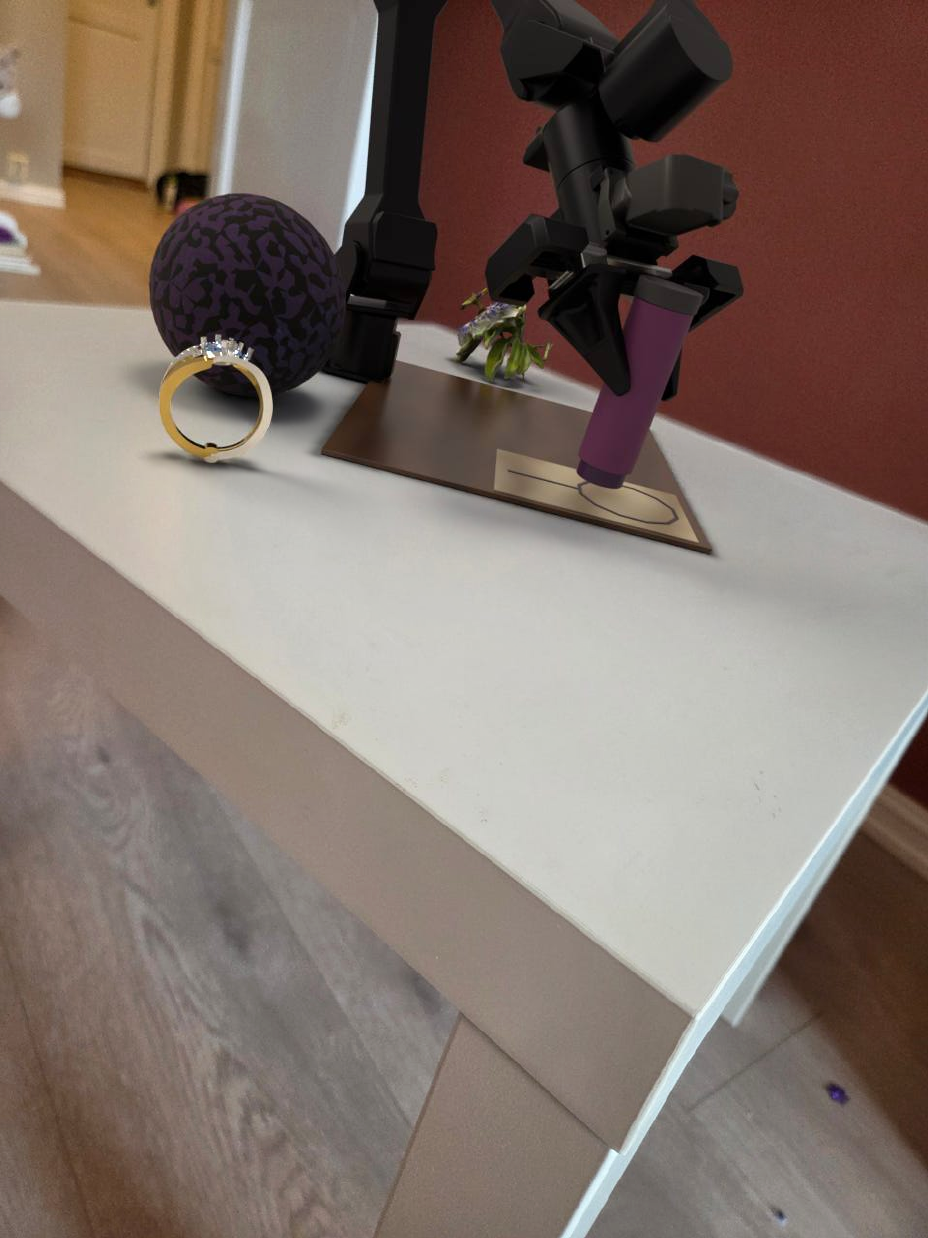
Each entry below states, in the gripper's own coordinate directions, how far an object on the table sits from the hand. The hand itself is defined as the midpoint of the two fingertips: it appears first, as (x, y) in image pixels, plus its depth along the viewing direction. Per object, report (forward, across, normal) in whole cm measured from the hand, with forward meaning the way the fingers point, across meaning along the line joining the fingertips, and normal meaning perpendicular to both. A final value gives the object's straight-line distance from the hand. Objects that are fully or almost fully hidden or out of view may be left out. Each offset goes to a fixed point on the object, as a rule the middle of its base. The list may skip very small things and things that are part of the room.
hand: (647, 396), depth 58 cm
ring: (-1, -24, +16) cm, 29 cm away
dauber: (+3, 0, +6) cm, 7 cm away
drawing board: (-7, +7, +22) cm, 25 cm away
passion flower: (-24, +20, +40) cm, 50 cm away
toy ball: (-12, -17, +27) cm, 34 cm away
